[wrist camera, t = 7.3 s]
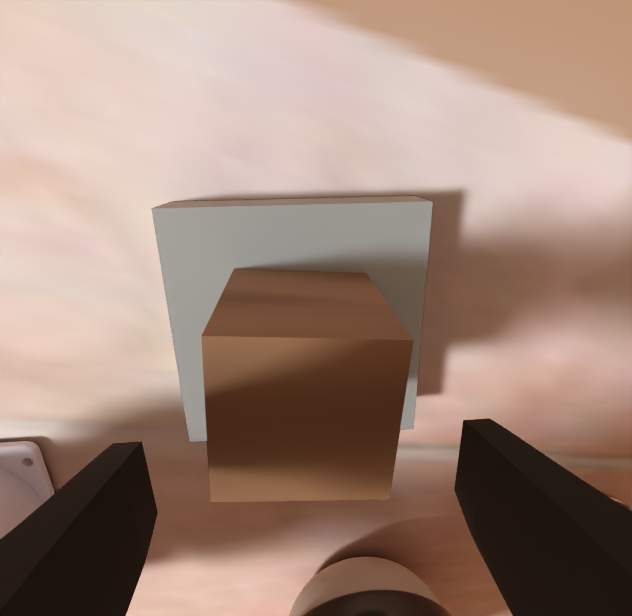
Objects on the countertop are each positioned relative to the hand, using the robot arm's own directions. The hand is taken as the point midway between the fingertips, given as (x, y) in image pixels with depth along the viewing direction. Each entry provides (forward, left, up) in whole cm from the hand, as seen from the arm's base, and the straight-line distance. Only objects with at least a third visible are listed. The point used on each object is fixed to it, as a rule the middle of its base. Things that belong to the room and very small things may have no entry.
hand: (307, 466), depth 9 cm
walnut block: (0, 0, -7) cm, 7 cm away
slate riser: (0, 0, -10) cm, 10 cm away
